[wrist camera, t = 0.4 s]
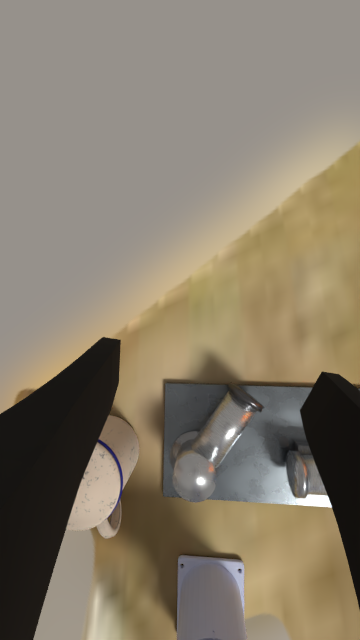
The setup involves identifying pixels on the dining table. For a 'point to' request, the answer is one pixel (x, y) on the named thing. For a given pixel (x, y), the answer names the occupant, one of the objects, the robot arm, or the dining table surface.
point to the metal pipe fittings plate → (248, 445)
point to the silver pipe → (212, 445)
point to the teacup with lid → (105, 479)
